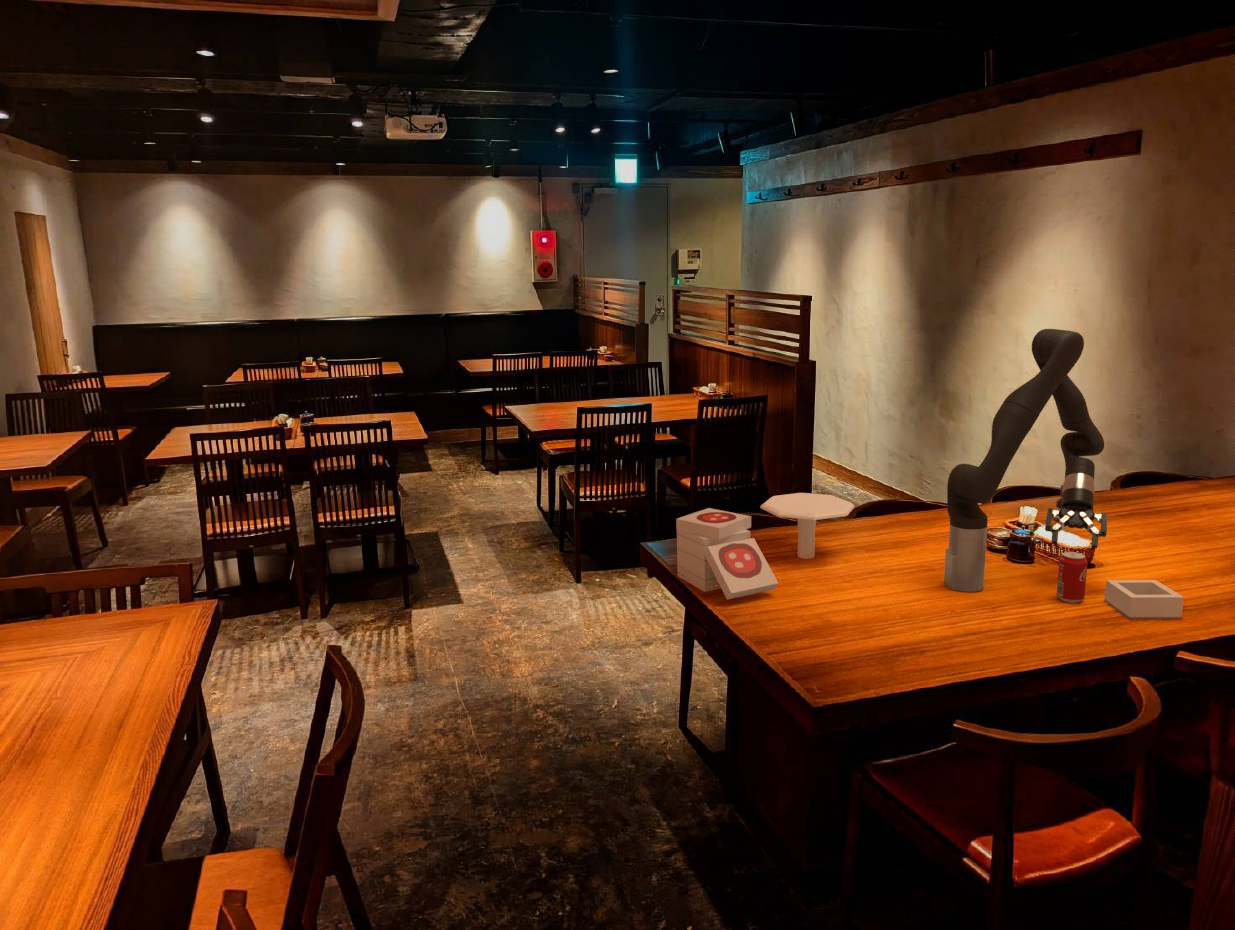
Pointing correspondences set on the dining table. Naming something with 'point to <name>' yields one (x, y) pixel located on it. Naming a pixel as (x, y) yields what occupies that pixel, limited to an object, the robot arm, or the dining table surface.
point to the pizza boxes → (721, 554)
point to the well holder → (1143, 599)
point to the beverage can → (1072, 577)
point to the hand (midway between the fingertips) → (1074, 546)
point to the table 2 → (807, 514)
